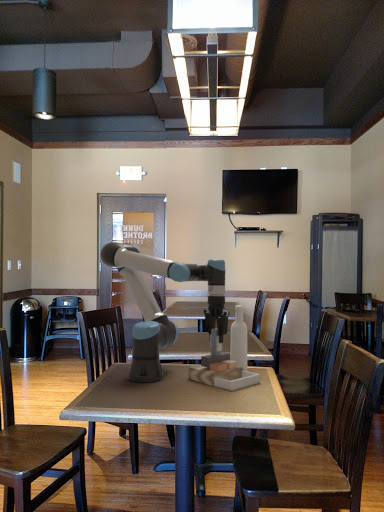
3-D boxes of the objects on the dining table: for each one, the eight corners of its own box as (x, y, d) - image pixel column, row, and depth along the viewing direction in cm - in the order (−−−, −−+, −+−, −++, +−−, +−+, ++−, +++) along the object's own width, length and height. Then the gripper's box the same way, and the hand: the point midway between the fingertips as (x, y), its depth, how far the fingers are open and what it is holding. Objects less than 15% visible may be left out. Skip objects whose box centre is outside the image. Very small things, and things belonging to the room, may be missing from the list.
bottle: (248, 369, 195) (248, 305, 196) (246, 373, 188) (247, 306, 189) (231, 368, 197) (231, 304, 198) (228, 372, 190) (229, 306, 191)
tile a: (209, 369, 173) (209, 363, 173) (217, 368, 176) (217, 362, 176) (218, 372, 169) (218, 365, 169) (226, 370, 173) (226, 364, 173)
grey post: (201, 365, 175) (201, 330, 176) (223, 361, 185) (223, 327, 185) (207, 367, 172) (208, 331, 173) (230, 362, 182) (230, 328, 183)
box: (214, 386, 167) (214, 377, 167) (243, 378, 179) (243, 370, 179) (231, 391, 160) (231, 382, 160) (259, 382, 173) (260, 374, 173)
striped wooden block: (188, 378, 178) (188, 367, 178) (217, 372, 190) (217, 361, 190) (214, 386, 167) (214, 373, 167) (243, 378, 179) (243, 366, 179)
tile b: (220, 367, 178) (220, 361, 178) (228, 365, 181) (228, 359, 181) (229, 369, 174) (229, 363, 174) (237, 367, 178) (237, 361, 178)
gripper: (197, 294, 183) (196, 348, 182) (224, 296, 171) (224, 354, 170) (208, 294, 188) (208, 346, 187) (236, 295, 176) (236, 351, 176)
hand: (216, 350), depth 179 cm, fingers closed on grey post, 3 cm apart
